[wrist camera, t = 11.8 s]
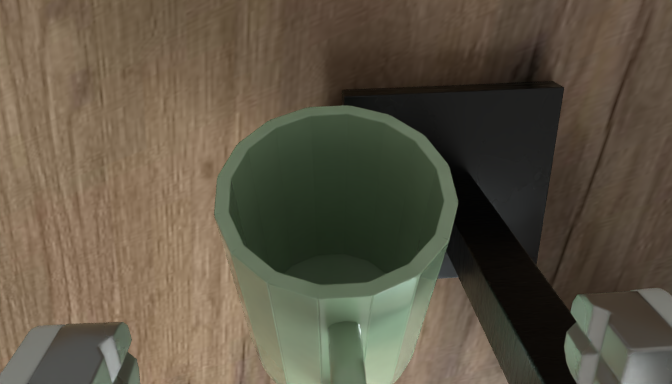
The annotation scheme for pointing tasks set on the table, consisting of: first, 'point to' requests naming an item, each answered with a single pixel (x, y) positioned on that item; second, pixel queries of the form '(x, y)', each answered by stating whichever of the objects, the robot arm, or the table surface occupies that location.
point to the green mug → (335, 241)
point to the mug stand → (495, 209)
